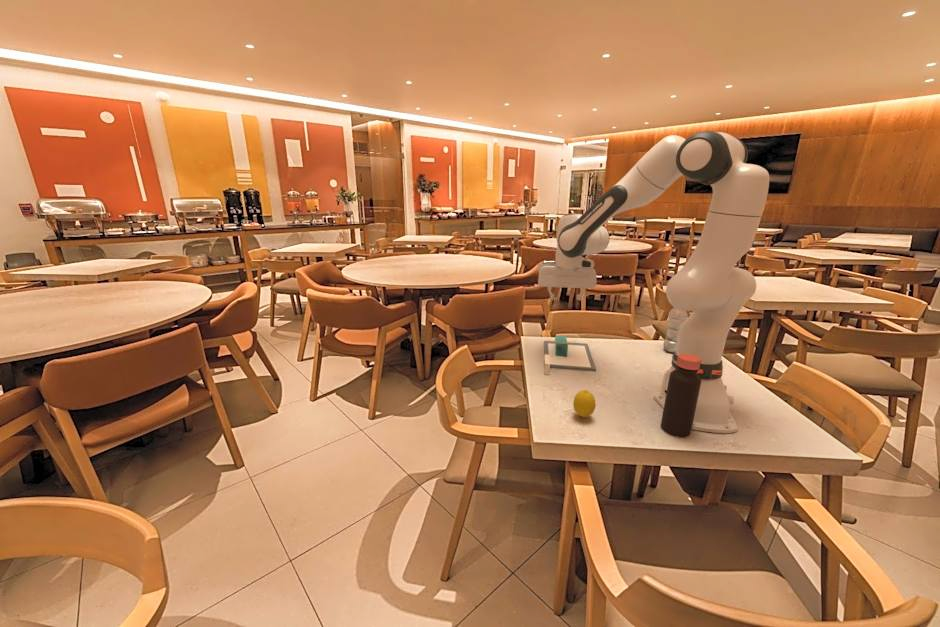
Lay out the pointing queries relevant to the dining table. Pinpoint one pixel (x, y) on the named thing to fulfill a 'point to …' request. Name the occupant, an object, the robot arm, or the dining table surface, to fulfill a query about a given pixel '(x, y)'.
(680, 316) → the plastic bottle
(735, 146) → the robot arm
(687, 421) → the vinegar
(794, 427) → the dining table surface
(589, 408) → the lemon
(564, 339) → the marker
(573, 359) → the writing board
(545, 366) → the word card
